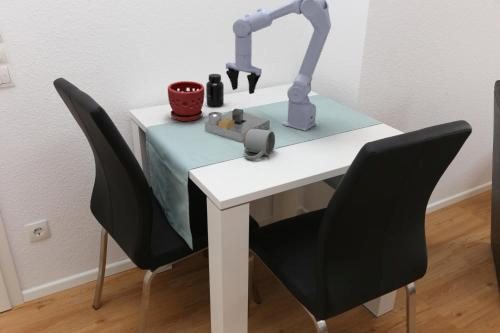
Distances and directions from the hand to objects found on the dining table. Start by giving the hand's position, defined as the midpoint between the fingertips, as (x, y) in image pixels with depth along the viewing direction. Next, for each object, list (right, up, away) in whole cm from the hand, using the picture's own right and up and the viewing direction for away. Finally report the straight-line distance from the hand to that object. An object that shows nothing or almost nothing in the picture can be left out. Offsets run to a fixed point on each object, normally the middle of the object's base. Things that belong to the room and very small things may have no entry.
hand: (243, 91), depth 171 cm
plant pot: (-21, -9, +4) cm, 23 cm away
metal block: (-2, -14, -7) cm, 16 cm away
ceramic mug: (+5, -24, -24) cm, 34 cm away
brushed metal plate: (-2, -14, -7) cm, 16 cm away
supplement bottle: (-11, -3, +16) cm, 20 cm away
